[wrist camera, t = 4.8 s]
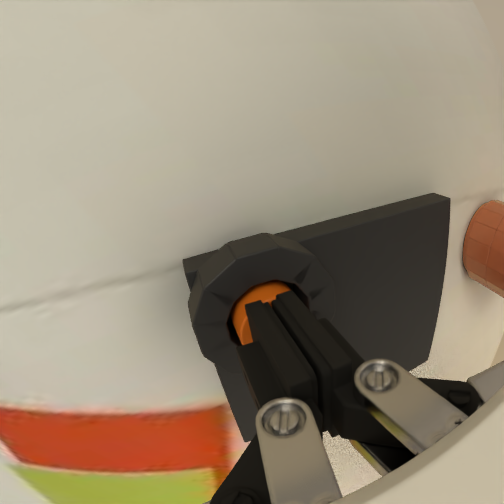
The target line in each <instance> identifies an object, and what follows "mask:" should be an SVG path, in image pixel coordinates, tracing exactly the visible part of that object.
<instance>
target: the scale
mask: <svg viewBox="0 0 504 504" xmlns="http://www.w3.org/2000/svg"><path fill="white" fill-rule="evenodd" d="M449 222H450V198H448V197H445V196H442V195H439V194H436V193H431V194H427V195H423V196H419V197H415V198H411V199H407V200H403V201H399V202H396V203H392V204H388V205H384V206H380V207H376V208H372V209H369V210H365V211H361V212H357V213H353V214H349V215H346V216H342V217H338V218H334V219H330V220H327V221H323V222H319V223H315V224H312V225H308V226H304V227H300V228H297V229H293V230H289V231H285V232H282V233H278V234H274V235H272V234H268V233H261V234H257V235H253V236H250V237H246V238H242V239H239V240H235V241H231V242H228V243H227V244H225V245H224V246H222V247H221V248H220V249H219V250H215V251H212V252H208V253H205V254H201V255H197V256H194V257H190V258H187V259H183V266H184V271H185V275H186V278H187V282H188V285H189V288H190V292H191V294H190V297H189V301H188V308H189V313H190V318H191V322H192V327H193V330H194V333H195V335H196V338H197V341H198V344H199V346H200V349H201V352H202V354H203V356H204V357H206V358H207V359H209V360H210V361H212V362H213V363H214V364H215V367H216V369H217V372H218V375H219V378H220V380H221V383H222V386H223V388H224V391H225V394H226V396H227V399H228V402H229V404H230V407H231V409H232V412H233V415H234V417H235V420H236V422H237V425H238V427H239V430H240V432H241V435H242V437H243V439H244V442H248V441H252V439H253V438H254V436H255V435H256V433H257V430H256V416H257V413H258V410H257V408H256V406H255V403H254V401H253V398H252V396H251V393H250V391H249V389H248V386H247V383H246V381H245V378H244V375H243V372H242V369H241V366H240V363H239V359H238V356H237V352H236V347H239V346H242V344H241V341H240V339H239V337H238V334H237V332H236V329H235V327H234V325H233V322H232V319H231V309H232V306H233V303H234V302H235V301H236V300H237V299H238V298H239V297H241V296H242V295H243V294H244V293H245V292H246V291H247V290H248V289H249V288H250V287H252V286H255V285H258V284H261V283H265V282H268V281H271V280H279V281H281V282H283V283H285V284H286V285H287V286H289V288H290V289H291V290H292V291H293V292H294V293H295V294H296V295H297V297H298V298H299V299H300V300H301V301H302V302H303V304H304V305H305V306H306V307H307V308H308V309H309V311H310V312H311V313H312V314H313V315H314V316H315V318H316V319H317V320H318V319H321V318H326V319H327V320H329V322H330V323H331V324H332V325H333V326H334V327H335V328H336V329H337V330H338V332H339V333H340V334H341V335H342V336H343V337H344V338H345V339H346V340H347V342H348V343H349V344H350V345H351V346H352V347H353V348H354V349H355V350H356V352H357V353H358V354H359V355H360V356H361V357H362V358H363V359H364V360H365V362H366V361H369V360H372V359H388V360H392V361H393V362H395V363H397V364H398V365H400V366H401V367H403V368H404V369H405V370H407V371H408V372H409V371H410V370H412V369H414V368H415V367H417V366H419V365H420V364H422V363H424V362H425V361H427V360H428V357H429V353H430V349H431V345H432V341H433V336H434V332H435V327H436V322H437V317H438V312H439V306H440V301H441V295H442V288H443V282H444V274H445V267H446V258H447V248H448V237H449Z"/></svg>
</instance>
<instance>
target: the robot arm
mask: <svg viewBox="0 0 504 504" xmlns="http://www.w3.org/2000/svg"><path fill="white" fill-rule="evenodd" d="M271 304H272V308H271V306H270V305H269V303H268V302H266V303H262V301H261V300H258V301H255V302H251V303H248V304H245V310H246V315H247V318H248V322H249V327H250V331H251V335H252V340H253V342H251V343H248V344H245V345H242V346H239V347H236V352H237V356H238V359H239V363H240V366H241V369H242V372H243V375H244V378H245V381H246V383H247V386H248V389H249V391H250V393H251V396H252V398H253V401H254V403H255V406H256V408H257V410H258V413H257V416H256V430H257V433H256V435H255V436H254V438H253V439H252V441H251V442H250V444H249V445H248V447H247V448H246V450H245V451H244V453H243V454H242V456H241V457H240V459H239V460H238V462H237V463H236V465H235V466H234V468H233V469H232V470H231V472H230V473H229V475H228V476H227V477H226V479H225V480H224V482H223V483H222V484H221V486H220V487H219V489H218V490H217V491H216V493H215V494H214V495H213V497H212V499H211V500H210V501H208V502H206V503H203V504H504V361H502V362H500V363H498V364H496V365H494V366H492V367H491V368H489V369H487V370H485V371H483V372H481V373H478V374H476V375H474V376H472V377H470V378H468V380H467V382H462V381H452V380H438V379H427V378H416V377H415V376H413V375H412V374H411V373H409V372H408V371H407V370H405V369H404V368H403V367H401V366H400V365H398V364H397V363H395V362H393V361H392V360H388V359H372V360H369V361H366V362H365V360H364V359H363V358H362V357H361V356H360V355H359V354H358V353H357V352H356V350H355V349H354V348H353V347H352V346H351V345H350V344H349V343H348V342H347V340H346V339H345V338H344V337H343V336H342V335H341V334H340V333H339V332H338V330H337V329H336V328H335V327H334V326H333V325H332V324H331V323H330V322H329V320H327V319H326V318H321V319H318V320H317V319H316V318H315V316H314V315H313V314H312V313H311V312H310V311H309V309H308V308H307V307H306V306H305V305H304V304H303V302H302V301H301V300H300V299H299V298H298V297H297V295H296V294H295V293H294V292H293V291H292V290H290V291H286V292H283V293H280V294H277V295H276V299H275V300H272V301H271ZM327 430H328V432H329V433H330V435H331V436H332V438H333V437H335V436H337V435H340V436H341V438H344V439H349V441H350V443H351V444H352V446H353V447H354V448H355V449H356V450H357V451H358V452H359V453H360V454H361V455H362V456H363V457H364V458H365V459H366V460H367V461H368V462H369V463H370V465H371V466H372V467H373V468H374V469H375V470H376V471H377V472H378V473H379V474H380V475H381V476H382V477H381V478H380V479H378V480H376V481H374V482H372V483H370V484H369V485H367V486H365V487H363V488H361V489H359V490H357V491H355V492H353V493H351V494H349V495H347V496H344V497H342V494H341V491H340V489H339V486H338V483H337V480H336V477H335V475H334V472H333V469H332V466H331V464H330V461H329V458H328V455H327V452H326V450H325V447H324V444H323V432H325V431H327Z"/></svg>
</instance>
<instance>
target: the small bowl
mask: <svg viewBox="0 0 504 504" xmlns="http://www.w3.org/2000/svg"><path fill="white" fill-rule="evenodd" d="M463 263H464V267H465V269H466V270H467V272H468V274H469V277H470V278H472V279H473V280H475V281H477V282H478V283H480V284H482V285H483V286H485V287H487V288H489V289H490V290H492V291H493V292H495V293H497V294H498V295H500V296H502V297H503V298H504V202H502V201H499V200H492V201H490V202H487V203H484V204H483V205H482V206H480V207H479V209H478V210H477V211H476V213H475V214H474V216H473V218H472V220H471V222H470V224H469V227H468V229H467V233H466V236H465V240H464V246H463Z"/></svg>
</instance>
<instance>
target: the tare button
mask: <svg viewBox="0 0 504 504" xmlns="http://www.w3.org/2000/svg"><path fill="white" fill-rule="evenodd" d="M290 290H291V289H290V288H289V286H287V285H286V284H285V283H283V282H281V281H279V280H271V281H268V282H265V283H261V284H258V285H255V286H252V287H250V288H249V289H248V290H247V291H246V292H245V293H244V294H243V295H242V296H241V297H239V298H238V299H237V300H236V301H235V302H234V303H233V306H232V309H231V319H232V322H233V325H234V327H235V329H236V332H237V334H238V337H239V339H240V341H241V344H242V345H245V344H248V343H251V342H253V340H252V335H251V331H250V327H249V322H248V318H247V315H246V310H245V304H248V303H251V302H255V301H258V300H261V301H262V303H266V302H268V303H269V305H270V306H271V308H272V304H271V301H272V300H275V299H276V295H277V294H280V293H283V292H286V291H290Z"/></svg>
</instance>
